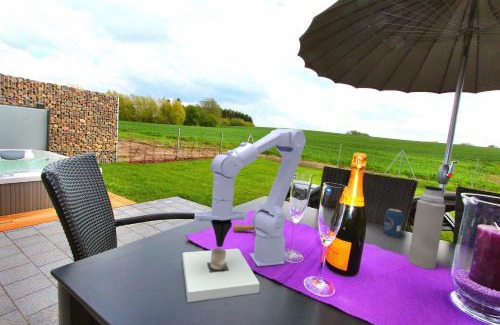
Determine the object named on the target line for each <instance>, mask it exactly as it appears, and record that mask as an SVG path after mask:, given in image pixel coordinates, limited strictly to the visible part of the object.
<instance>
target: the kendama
mask: <svg viewBox="0 0 500 325" xmlns="http://www.w3.org/2000/svg"><path fill="white" fill-rule="evenodd" d="M246 231H247V232H248V231H253V234H254V235H255V236H256V231H255V227H254V226H253V224H251V225H250V224H233V232H234V233H237V232H246Z"/></svg>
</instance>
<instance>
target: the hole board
mask: <svg viewBox="0 0 500 325" xmlns="http://www.w3.org/2000/svg"><path fill="white" fill-rule="evenodd" d="M224 250H225V251H226V258H225V271H222V272H212V273H211V272H210V269H211V255H212V250H201V251H200V250H198V251H186V252H182V267H183V268H182V269H183V275H184V283H185V291H186V292H185V293H186V300H187V303H192V302H199V301H200V302H201V301H206V300H207V301H208V300H214V299H215V300H216V299H222V298H223V299H224V298H230V297H235V296H237V297H238V296H243V295H252V294H258V293H259V294H260V285H261V284H260V281H259V280H258V279H257V277H256V275H255V274H254V271H253V270H252V269H251V267H250V265H249V263H248V262H247V260H246V259H245V257H244V256H243V254H242V252H241V250H240V249H239V248H229V249H227V248H226V249H224Z"/></svg>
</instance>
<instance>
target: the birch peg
mask: <svg viewBox="0 0 500 325" xmlns="http://www.w3.org/2000/svg"><path fill="white" fill-rule="evenodd" d="M225 250H226V249H224V248H221V247H217V248H213V249H212V250H211V251H212V255H211V269H210V270H209V272H210V273H212V272H222V271H225V258H226V251H225Z"/></svg>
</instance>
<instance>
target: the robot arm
mask: <svg viewBox="0 0 500 325" xmlns="http://www.w3.org/2000/svg"><path fill="white" fill-rule="evenodd" d="M306 142H307V140H306V136H305V133H304V131H303V130H302V129H301V128H281V127H278V128H276V129H272V130H271V131H270V132H269V133H268V134H266V135H264V136H263V137H262V138H260V139H258V140H257V141H255V142H254V143H250V142H244V141H243V142H241V143H239V146H238V147H236V148H234V149H229V150H227V151H226V153H225V154H217V155H216V156H215V157H214V158H213V159H212V162H211V163H210V166H209V168H210V170H211V172H212V174H213V176H212V177H213V183H212V184H213V185H212V198H211V199H212V201H211V211H204V212H197V213H196V212H195V213H194V219H193V220H194V222H195V223H200V222H210V223H211V226H212V229H213V231H214V235H215V244H216V247H217V248H221V247H224V242H225V239H226V237H227V235H228V232H229V231H230V230H231V228H232V227H233V223H232V221H243V222H247V221H248V213H247V212H245V211H233V205H234V195H235V194H234V191H235V182H236V181H235V179H236V177H237V176H238V175H239V174H240V171H241V169H243V168H244V167H246V166H248V165H249V164H251V163H253V162H255V161H256V160H257V159H258V155H259V154H261V153H264V152H265V151H267V150H270V149H271V148H275V149H276V150H277V151H278V153H279V154H280V155H281V158H282V159H281V160H282V161H281V162H280V166H279V168H278V171H277V173H276V176H275V179H274V181H273V183H272V187H271V188H270V190H269V194H268V197H267V199H266V201H265V202H264V203H262V204H260V205H259V206H258V209H257V210H256V212H254V214H253V215H252V219H251V222H252V224H251V225H252V226H254V227H255V231H256V235H255V240H254V248H253V249H254V252H250V253H249V256H250V258H251V259H252V261H253V262H254V263H255V266H256V267H265V266H274V265H275V266H276V265H284V264H285V260H284V259H285V252H286V251H285V250H286V239H285V235H284V234H283V232H284V229H285V220H286V217H287V216H286V213H285V212H284V210H283V205H284V204H285V201H286V198H287V196H288V193H289V190H290V187H291V185H292V182H293V179H294V176H295V174H296V171H297V168H298V166H299V163H300V160H301V156H302V153H303V151H304V148H305V146H306Z"/></svg>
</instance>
